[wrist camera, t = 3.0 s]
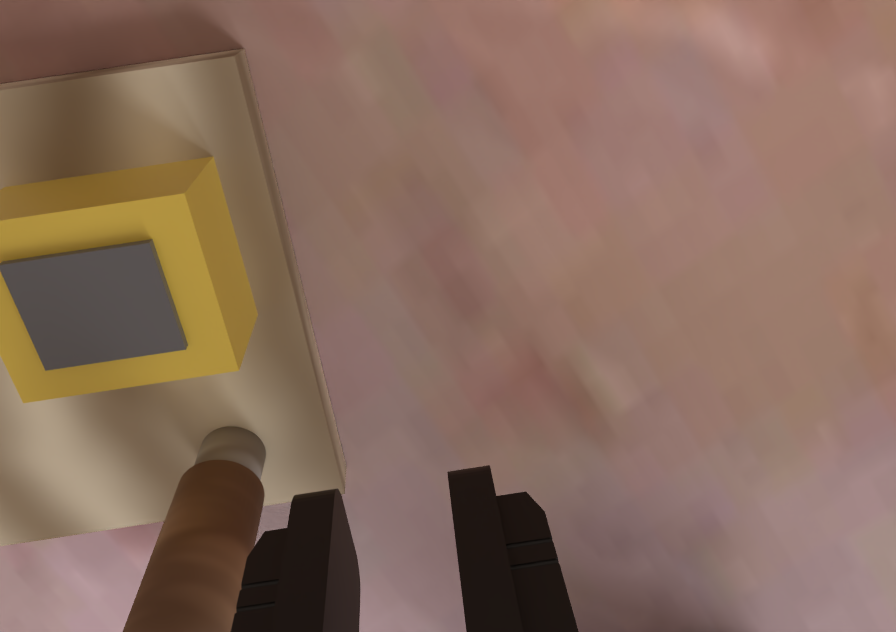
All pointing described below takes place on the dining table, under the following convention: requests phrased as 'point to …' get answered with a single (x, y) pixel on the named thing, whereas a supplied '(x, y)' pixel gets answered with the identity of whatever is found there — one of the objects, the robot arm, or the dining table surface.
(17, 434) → the board
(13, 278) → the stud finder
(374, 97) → the dining table surface
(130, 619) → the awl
